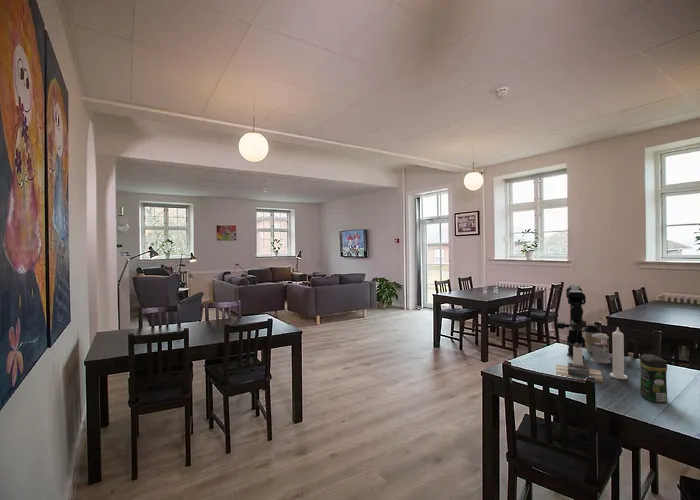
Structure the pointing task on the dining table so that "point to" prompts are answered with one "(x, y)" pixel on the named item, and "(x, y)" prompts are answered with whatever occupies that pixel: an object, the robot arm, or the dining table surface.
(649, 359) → the coffee jar
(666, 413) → the dining table surface
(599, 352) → the french press
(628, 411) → the dining table surface
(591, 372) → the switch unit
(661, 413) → the dining table surface
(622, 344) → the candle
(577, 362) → the lever
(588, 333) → the coffee cup
